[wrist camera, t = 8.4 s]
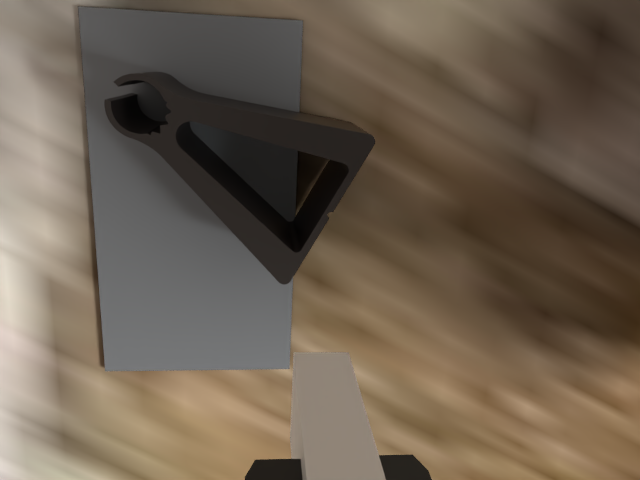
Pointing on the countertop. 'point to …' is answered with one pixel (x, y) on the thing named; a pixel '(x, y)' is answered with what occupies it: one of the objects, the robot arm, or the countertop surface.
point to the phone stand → (225, 184)
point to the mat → (187, 193)
